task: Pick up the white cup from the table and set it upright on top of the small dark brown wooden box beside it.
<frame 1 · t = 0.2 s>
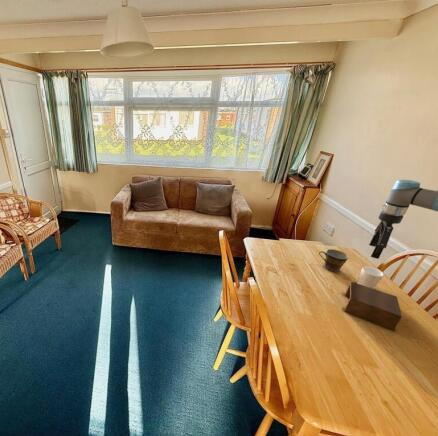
hand: (373, 251, 115), 19 cm above the table, tool pointing down, fingers open, 13 cm apart
ceramic cup: (328, 267, 133), on the table
dark brown wooden box: (366, 310, 104), on the table
white cup: (364, 287, 118), on the table
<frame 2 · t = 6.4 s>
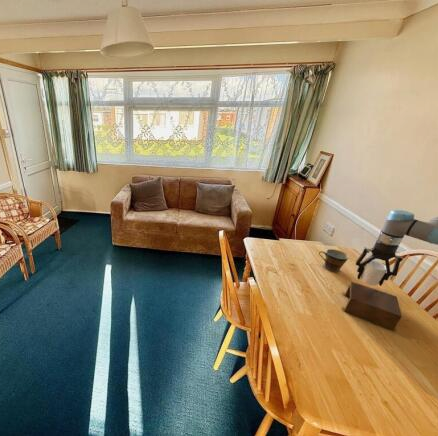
hand: (369, 280, 116), 4 cm above the table, tool pointing down, fingers closed on white cup, 8 cm apart
white cup: (368, 281, 116), point 4 cm above the table, touching gripper
everything else where it was.
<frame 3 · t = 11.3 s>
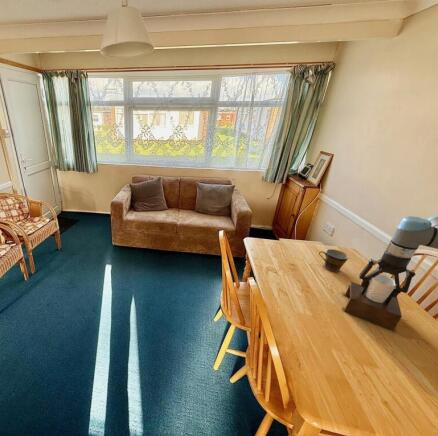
hand: (374, 296, 101), 8 cm above the table, tool pointing down, fingers closed on white cup, 8 cm apart
white cup: (373, 297, 101), point 8 cm above the table, touching gripper
everything else where it was.
when the fingers open (8 cm above the table, at t = 11.5 s): white cup stays where it is, resting on dark brown wooden box.
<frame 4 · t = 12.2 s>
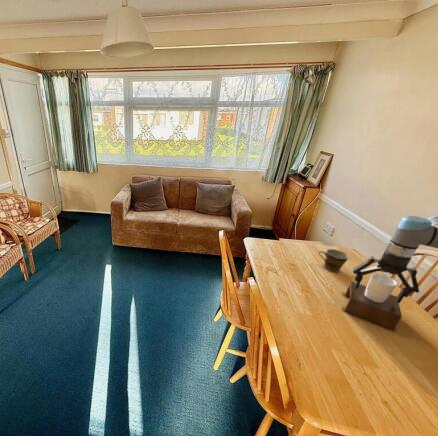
hand: (376, 293, 100), 10 cm above the table, tool pointing down, fingers open, 13 cm apart
white cup: (373, 297, 101), point 8 cm above the table, touching dark brown wooden box
everything else where it was.
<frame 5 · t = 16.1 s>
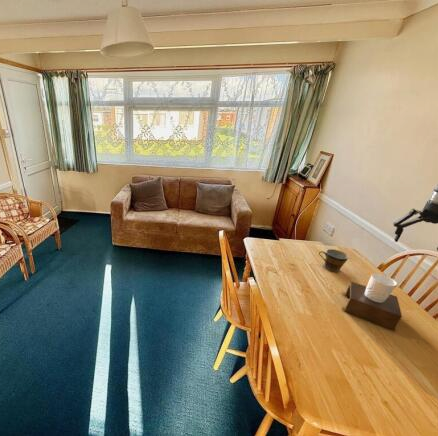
hand: (416, 245, 105), 27 cm above the table, tool pointing down, fingers open, 13 cm apart
nothing on the table moved.
at the end: white cup inside the target area on the dark brown wooden box (0.0 cm from its centre), point 7.8 cm above the dark brown wooden box's base; white cup tilted 0°; the gripper is holding nothing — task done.
